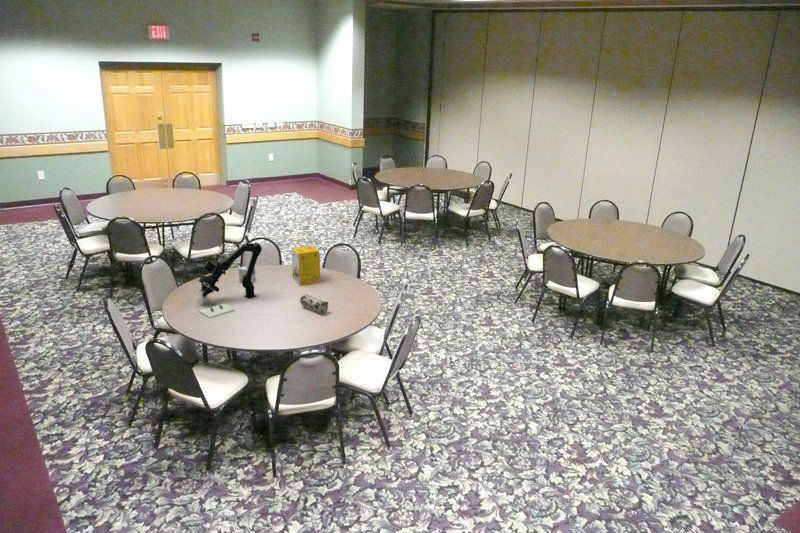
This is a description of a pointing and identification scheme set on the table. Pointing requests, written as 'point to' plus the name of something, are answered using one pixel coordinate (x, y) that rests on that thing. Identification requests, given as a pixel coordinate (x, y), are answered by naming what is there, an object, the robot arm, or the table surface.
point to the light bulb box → (243, 271)
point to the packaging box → (305, 265)
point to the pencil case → (313, 303)
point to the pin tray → (216, 310)
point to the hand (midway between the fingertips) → (201, 295)
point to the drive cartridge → (203, 299)
